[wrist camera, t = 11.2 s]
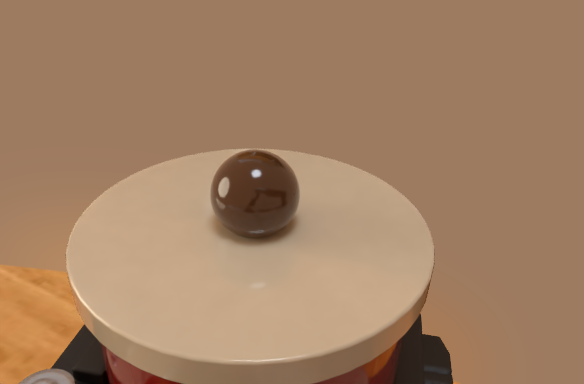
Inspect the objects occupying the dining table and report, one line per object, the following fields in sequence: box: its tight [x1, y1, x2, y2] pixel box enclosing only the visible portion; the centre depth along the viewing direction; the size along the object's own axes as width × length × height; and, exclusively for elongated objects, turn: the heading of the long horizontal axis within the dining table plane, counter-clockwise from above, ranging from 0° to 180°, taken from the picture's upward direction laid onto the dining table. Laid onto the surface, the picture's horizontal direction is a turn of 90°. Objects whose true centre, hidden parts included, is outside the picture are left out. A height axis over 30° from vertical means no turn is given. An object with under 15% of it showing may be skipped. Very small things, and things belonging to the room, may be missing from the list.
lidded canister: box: [66, 149, 435, 384], centre depth 14 cm, size 12×6×13 cm, turn 169°
